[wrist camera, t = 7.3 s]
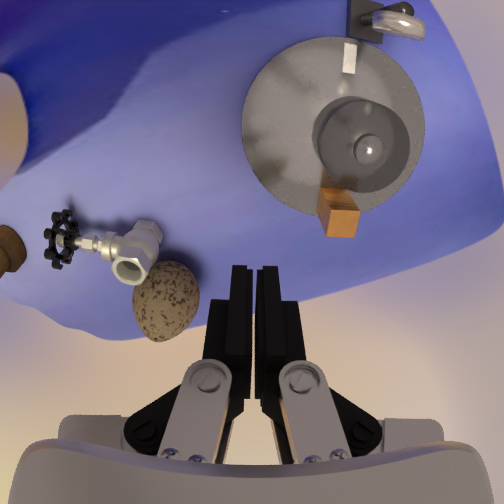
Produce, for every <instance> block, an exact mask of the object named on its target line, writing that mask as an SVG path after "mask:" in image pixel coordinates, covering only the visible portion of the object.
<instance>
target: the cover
mask: <svg viewBox="0 0 504 504" xmlns="http://www.w3.org/2000/svg"><path fill="white" fill-rule="evenodd" d="M312 143H313V147H314V151H315V153H316V155H317V157H318V158H319V160H320V161H321V163H322V164H323V166H324V167H325V169H326V171H327V172H328V174H329V175H330V176H331V178H332V179H333V180H334V181H335V182H336V183H337V184H339V185H340V186H341V187H343V188H345V189H347V190H350V191H353V192H357V193H371V192H375V191H379V190H381V189H384V188H385V187H387V186H389V185H390V184H391V183H393V182H394V181H395V180H396V179H397V178H398V177H399V176H400V174H401V173H402V171H403V170H404V168H405V166H406V164H407V161H408V158H409V153H410V139H409V134H408V131H407V128H406V126H405V124H404V122H403V121H402V119H401V118H400V117H399V116H398V115H397V114H396V113H395V112H394V111H393V110H391V109H390V108H388V107H386V106H384V105H382V104H379V103H376V102H374V101H371V100H369V99H366V98H363V97H359V96H345V97H341V98H338V99H335V100H334V101H332V102H330V103H329V104H327V105H326V106H325V107H324V108H323V109H322V110H321V112H320V113H319V114H318V116H317V118H316V120H315V122H314V125H313V130H312Z"/></svg>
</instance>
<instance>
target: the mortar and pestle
mask: <svg viewBox="0 0 504 504" xmlns="http://www.w3.org/2000/svg"><path fill="white" fill-rule="evenodd" d="M25 259H26V250H25V247H24V245H23V243H22V240H21V239H20V237H19V236H18V235H17V234H16V232H15V231H13V230H12V229H11V228H9V227H7V226H0V278H1V277H2V275H3V274H4V273H5V272H16V271H17V270H18V269H19V268H20V266H21V265H22V264H23V263H24V261H25Z"/></svg>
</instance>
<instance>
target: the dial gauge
mask: <svg viewBox="0 0 504 504" xmlns="http://www.w3.org/2000/svg"><path fill="white" fill-rule="evenodd" d="M413 15H414V9H413V7H412V6H411V5H410V4H409V3H407V2H400V3H396V4H393V5H389V6H386V7H384V5H383V4H380V3H376V2H373V1H369V0H348V5H347V27H346V37H350V38H354V39H359V40H363V41H368V42H372V43H376V44H382V37H383V34H386V35H390V36H394V37H398V38H402V39H407V40H413V41H424V39H425V23H424V22H423V21H421V20H419V19H417V18H415V17H413Z"/></svg>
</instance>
